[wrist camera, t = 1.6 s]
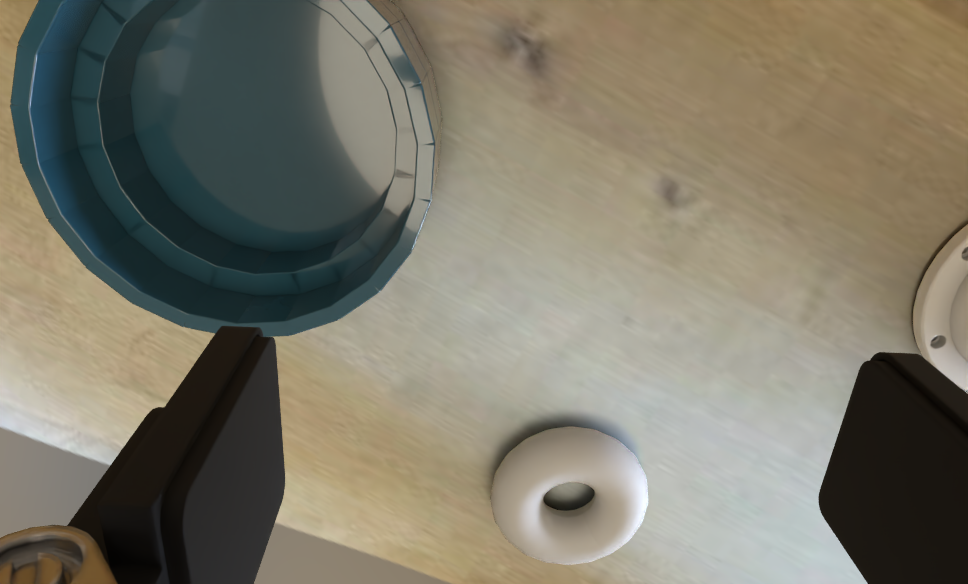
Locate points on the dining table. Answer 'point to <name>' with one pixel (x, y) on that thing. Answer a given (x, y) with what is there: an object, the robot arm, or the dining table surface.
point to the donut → (562, 462)
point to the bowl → (230, 151)
